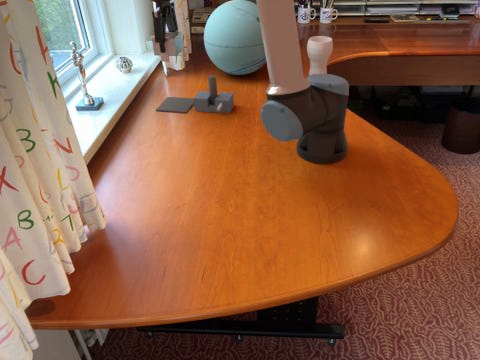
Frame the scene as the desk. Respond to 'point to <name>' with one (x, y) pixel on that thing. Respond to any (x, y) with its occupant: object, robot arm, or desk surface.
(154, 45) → the collar
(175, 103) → the mat
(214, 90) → the vise
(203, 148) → the desk surface
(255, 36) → the globe
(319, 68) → the cup
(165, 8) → the robot arm
